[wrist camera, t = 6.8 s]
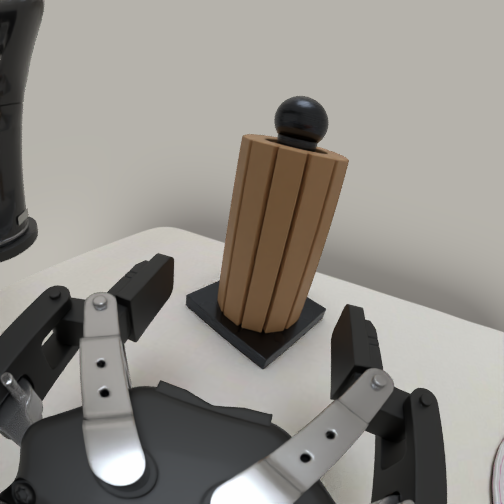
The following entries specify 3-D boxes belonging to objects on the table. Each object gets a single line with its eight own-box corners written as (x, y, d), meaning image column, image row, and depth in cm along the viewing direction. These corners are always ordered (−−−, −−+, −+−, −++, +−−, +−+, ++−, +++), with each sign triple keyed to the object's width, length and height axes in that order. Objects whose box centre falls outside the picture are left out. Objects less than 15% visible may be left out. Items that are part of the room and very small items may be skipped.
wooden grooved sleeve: (200, 296, 21) (221, 132, 15) (255, 271, 25) (284, 137, 20) (264, 346, 18) (316, 158, 12) (313, 307, 22) (362, 161, 16)
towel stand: (185, 304, 21) (210, 79, 14) (252, 273, 27) (289, 99, 19) (263, 369, 17) (340, 93, 9) (322, 317, 23) (387, 122, 15)
